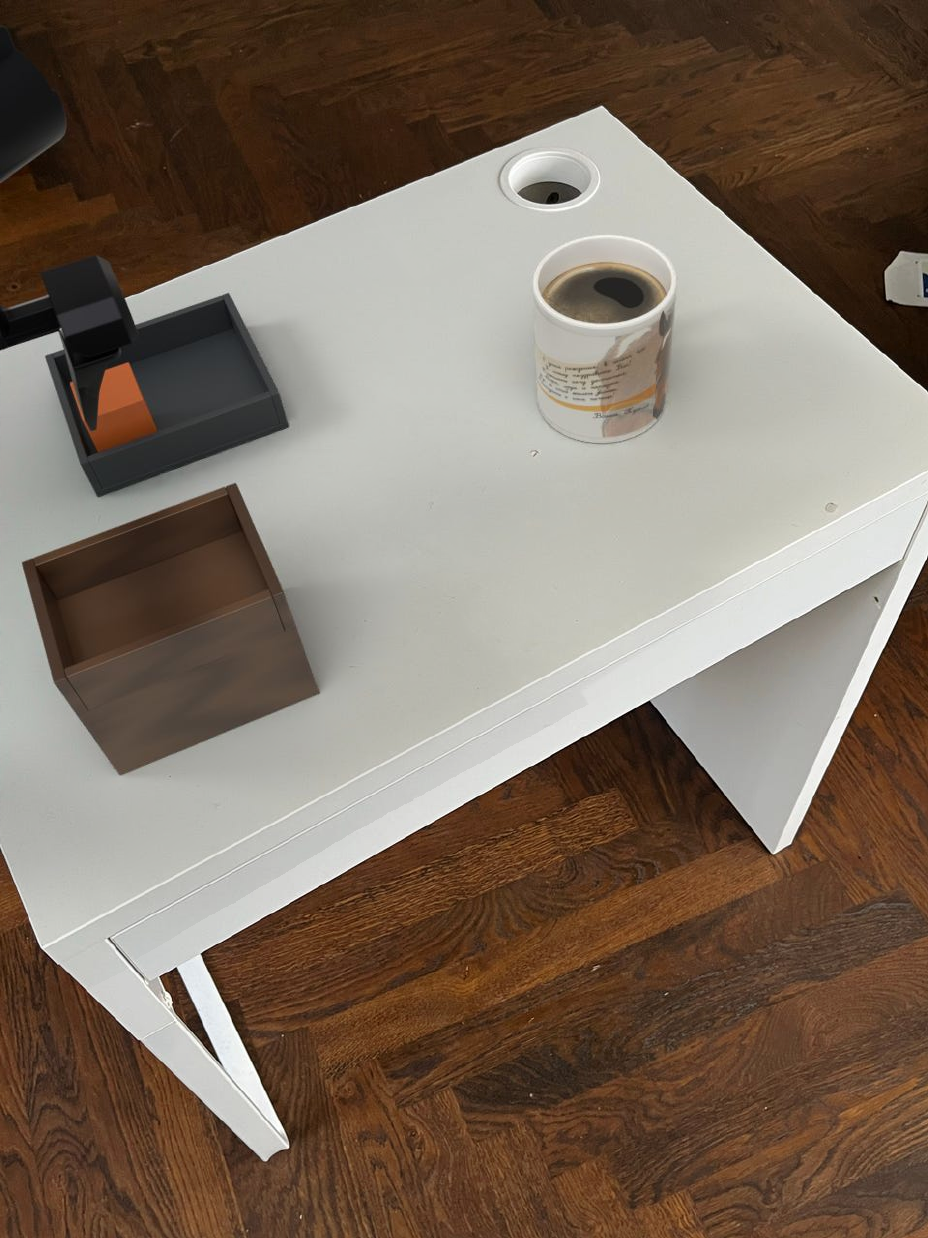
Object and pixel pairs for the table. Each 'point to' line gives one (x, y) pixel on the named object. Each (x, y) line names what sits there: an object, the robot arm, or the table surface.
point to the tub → (181, 395)
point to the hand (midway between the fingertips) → (21, 450)
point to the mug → (603, 336)
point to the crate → (169, 629)
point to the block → (119, 410)
